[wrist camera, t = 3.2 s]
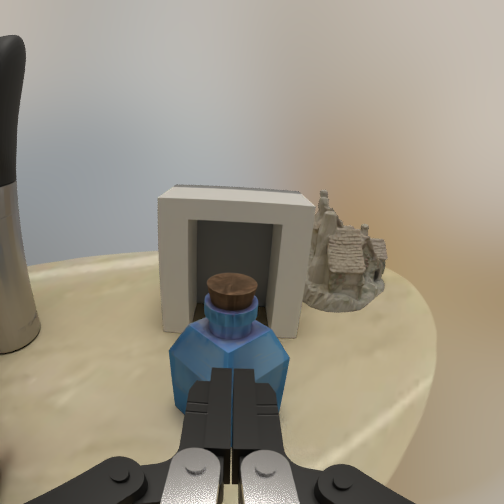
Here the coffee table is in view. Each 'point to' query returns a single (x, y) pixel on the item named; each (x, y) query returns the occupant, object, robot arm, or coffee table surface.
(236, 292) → the perfume bottle
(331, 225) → the ceramic cottage
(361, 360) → the coffee table surface
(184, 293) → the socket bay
